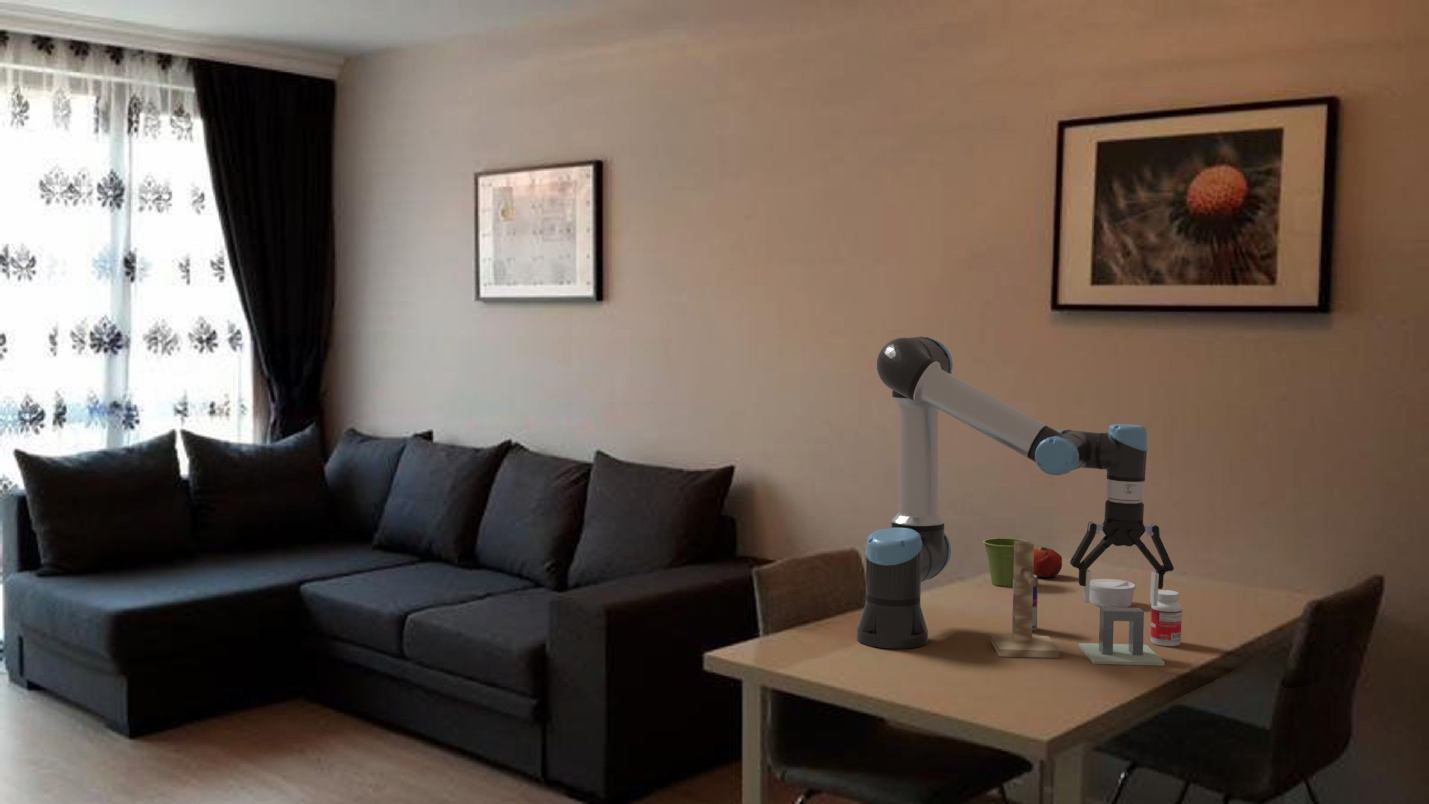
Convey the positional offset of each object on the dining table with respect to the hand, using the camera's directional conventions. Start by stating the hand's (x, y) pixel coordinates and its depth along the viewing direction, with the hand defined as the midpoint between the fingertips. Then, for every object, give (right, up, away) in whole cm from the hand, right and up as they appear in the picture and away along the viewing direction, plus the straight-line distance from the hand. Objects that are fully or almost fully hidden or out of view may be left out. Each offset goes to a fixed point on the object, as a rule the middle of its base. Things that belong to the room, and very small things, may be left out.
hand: (1119, 603), depth 261 cm
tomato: (+5, -6, +80) cm, 81 cm away
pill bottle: (+13, -10, +11) cm, 20 cm away
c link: (0, -10, 0) cm, 10 cm away
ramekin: (+13, -8, +48) cm, 50 cm away
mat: (0, -11, 0) cm, 11 cm away
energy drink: (-14, -10, +23) cm, 28 cm away
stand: (-18, -11, +3) cm, 22 cm away
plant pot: (-7, -6, +70) cm, 71 cm away
